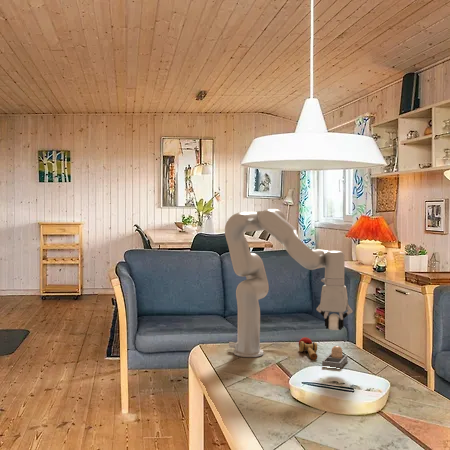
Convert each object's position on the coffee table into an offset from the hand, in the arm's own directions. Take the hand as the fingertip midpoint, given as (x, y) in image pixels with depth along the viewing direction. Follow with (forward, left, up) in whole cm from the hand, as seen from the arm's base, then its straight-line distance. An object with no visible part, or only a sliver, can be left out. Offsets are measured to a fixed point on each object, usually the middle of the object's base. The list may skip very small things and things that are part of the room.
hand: (334, 328), depth 238 cm
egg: (0, 0, 0) cm, 0 cm away
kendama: (-14, +14, -16) cm, 25 cm away
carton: (0, +3, -15) cm, 15 cm away
